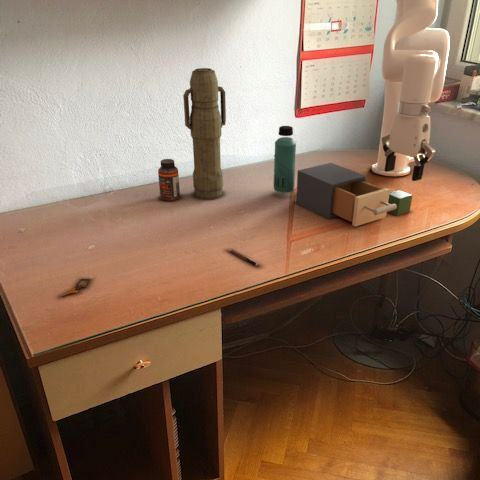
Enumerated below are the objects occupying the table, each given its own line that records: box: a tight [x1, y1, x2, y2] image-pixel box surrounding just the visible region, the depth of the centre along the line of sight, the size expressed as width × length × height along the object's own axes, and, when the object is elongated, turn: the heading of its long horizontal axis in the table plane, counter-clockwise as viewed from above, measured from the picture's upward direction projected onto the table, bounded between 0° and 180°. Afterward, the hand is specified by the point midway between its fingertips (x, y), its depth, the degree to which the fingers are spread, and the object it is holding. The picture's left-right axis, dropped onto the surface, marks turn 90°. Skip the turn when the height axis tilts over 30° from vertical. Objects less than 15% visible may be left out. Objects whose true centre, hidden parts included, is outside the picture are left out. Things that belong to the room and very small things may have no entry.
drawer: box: [332, 180, 397, 227], centre depth 144 cm, size 18×11×8 cm, turn 33°
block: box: [387, 189, 413, 217], centre depth 150 cm, size 5×5×5 cm
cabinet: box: [295, 162, 367, 219], centre depth 152 cm, size 15×13×10 cm
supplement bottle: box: [157, 158, 181, 202], centre depth 158 cm, size 6×6×11 cm
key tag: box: [61, 278, 91, 297], centre depth 116 cm, size 8×3×1 cm, turn 162°
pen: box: [229, 249, 260, 267], centre depth 127 cm, size 11×1×1 cm, turn 39°
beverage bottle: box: [273, 125, 297, 194], centre depth 158 cm, size 6×7×20 cm
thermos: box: [182, 67, 227, 200], centre depth 154 cm, size 9×12×35 cm
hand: (402, 175), depth 145 cm, fingers open, 9 cm apart
